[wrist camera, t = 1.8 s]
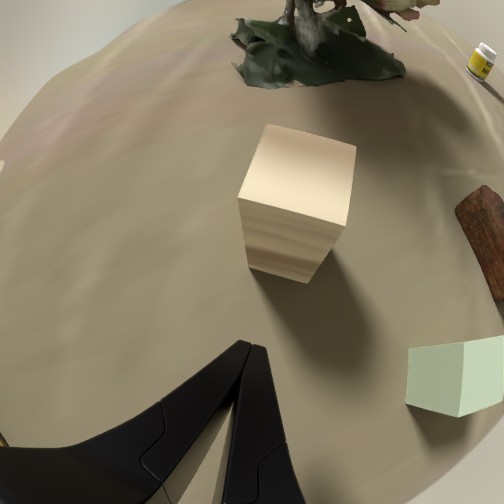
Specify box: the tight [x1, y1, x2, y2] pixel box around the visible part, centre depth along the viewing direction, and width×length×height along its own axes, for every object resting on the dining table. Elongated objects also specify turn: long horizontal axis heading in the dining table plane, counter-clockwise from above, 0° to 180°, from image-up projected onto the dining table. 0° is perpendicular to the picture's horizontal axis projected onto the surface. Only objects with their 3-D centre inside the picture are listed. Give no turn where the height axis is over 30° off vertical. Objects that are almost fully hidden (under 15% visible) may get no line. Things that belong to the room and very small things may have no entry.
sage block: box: [405, 335, 504, 417], centre depth 14 cm, size 4×4×7 cm
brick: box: [455, 185, 504, 303], centre depth 18 cm, size 11×4×5 cm, turn 21°
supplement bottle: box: [466, 43, 497, 82], centre depth 28 cm, size 5×5×8 cm
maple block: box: [238, 124, 356, 284], centre depth 16 cm, size 4×4×10 cm
